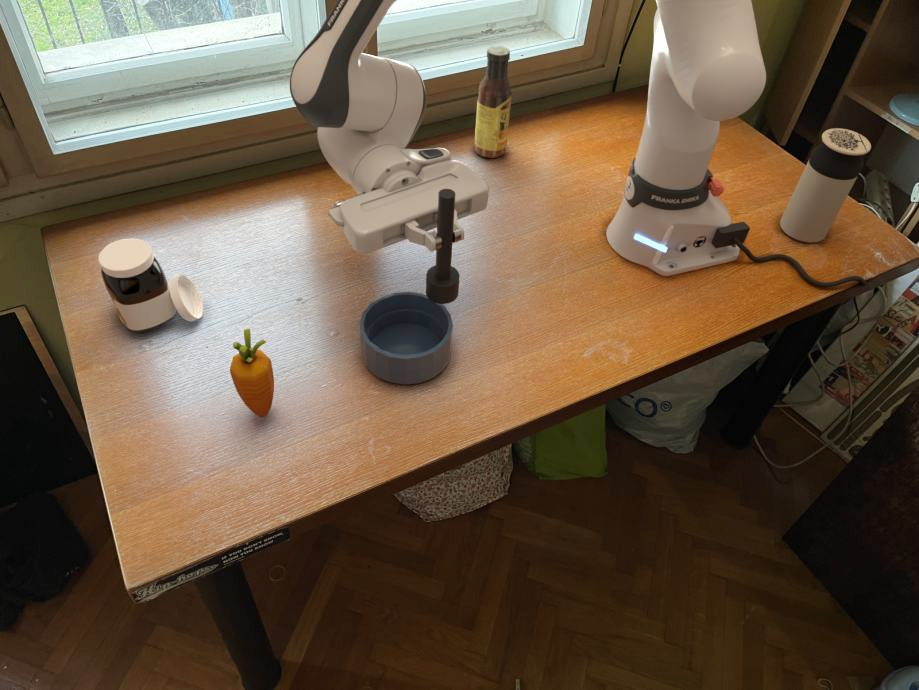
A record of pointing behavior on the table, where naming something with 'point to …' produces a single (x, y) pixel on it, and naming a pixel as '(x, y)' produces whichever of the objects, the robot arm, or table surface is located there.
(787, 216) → the travel mug
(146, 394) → the table surface
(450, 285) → the black rod with base
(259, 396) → the carrot
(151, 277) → the spread jar
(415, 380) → the bowl
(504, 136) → the sauce bottle
